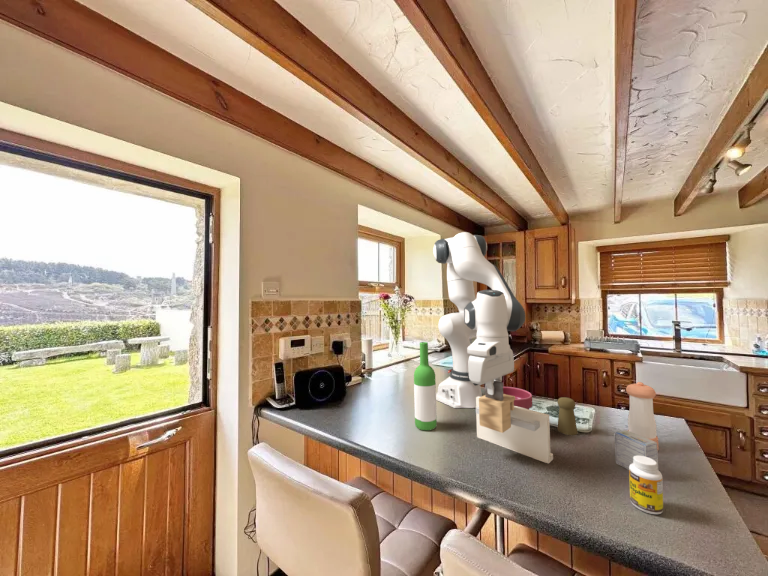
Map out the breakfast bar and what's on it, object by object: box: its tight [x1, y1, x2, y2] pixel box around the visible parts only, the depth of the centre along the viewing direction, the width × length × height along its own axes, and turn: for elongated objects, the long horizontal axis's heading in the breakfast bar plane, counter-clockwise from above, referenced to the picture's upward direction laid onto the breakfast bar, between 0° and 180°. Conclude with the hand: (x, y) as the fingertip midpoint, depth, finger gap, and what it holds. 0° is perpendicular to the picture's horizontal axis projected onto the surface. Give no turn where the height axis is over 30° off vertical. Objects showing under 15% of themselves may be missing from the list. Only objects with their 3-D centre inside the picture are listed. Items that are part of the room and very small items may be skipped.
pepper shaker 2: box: [625, 381, 660, 452], centre depth 93 cm, size 7×7×19 cm
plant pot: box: [503, 386, 533, 410], centre depth 106 cm, size 14×14×13 cm
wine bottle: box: [413, 341, 438, 431], centre depth 110 cm, size 8×8×30 cm
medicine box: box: [614, 429, 660, 471], centre depth 81 cm, size 8×4×9 cm, turn 17°
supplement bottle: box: [628, 456, 664, 515], centre depth 67 cm, size 6×6×10 cm
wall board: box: [475, 396, 554, 465], centre depth 92 cm, size 22×7×13 cm, turn 42°
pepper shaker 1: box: [556, 396, 579, 436], centre depth 104 cm, size 6×6×11 cm
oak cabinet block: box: [479, 381, 515, 433], centre depth 90 cm, size 7×8×13 cm
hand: (493, 392), depth 89 cm, fingers closed on oak cabinet block
